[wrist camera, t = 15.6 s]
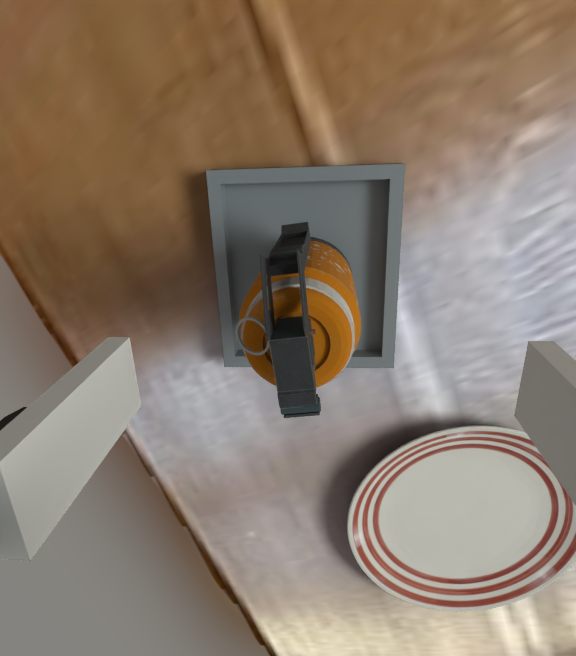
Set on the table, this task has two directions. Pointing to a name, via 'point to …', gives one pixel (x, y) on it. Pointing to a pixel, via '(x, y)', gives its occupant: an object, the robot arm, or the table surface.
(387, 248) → the tray
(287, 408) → the canister
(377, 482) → the dinner plate
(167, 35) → the table surface
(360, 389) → the table surface
